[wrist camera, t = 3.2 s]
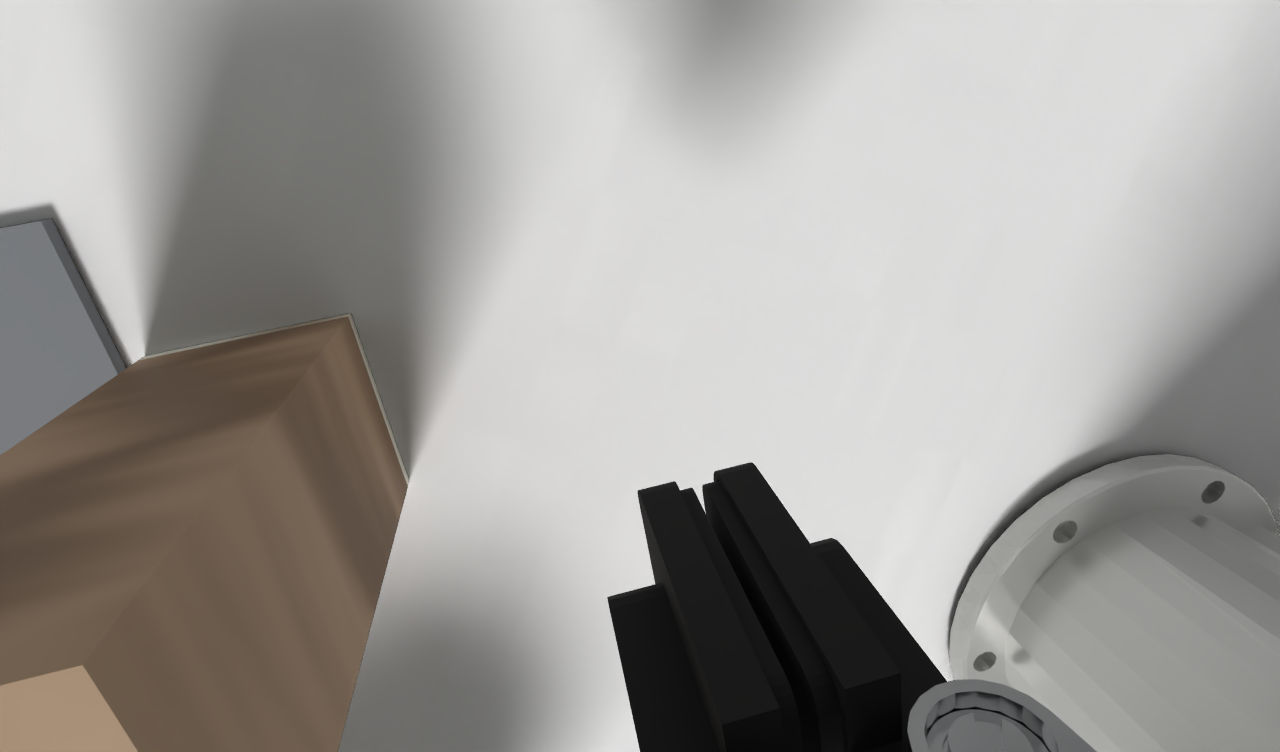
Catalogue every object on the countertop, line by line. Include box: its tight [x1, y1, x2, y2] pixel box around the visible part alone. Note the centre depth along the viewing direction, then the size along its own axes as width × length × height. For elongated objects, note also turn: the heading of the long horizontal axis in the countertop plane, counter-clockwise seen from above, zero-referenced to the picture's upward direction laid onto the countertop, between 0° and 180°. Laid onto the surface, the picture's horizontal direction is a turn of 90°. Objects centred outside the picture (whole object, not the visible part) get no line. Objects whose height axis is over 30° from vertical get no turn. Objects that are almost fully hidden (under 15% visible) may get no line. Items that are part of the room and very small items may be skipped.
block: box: [0, 313, 409, 752], centre depth 13 cm, size 5×5×12 cm
